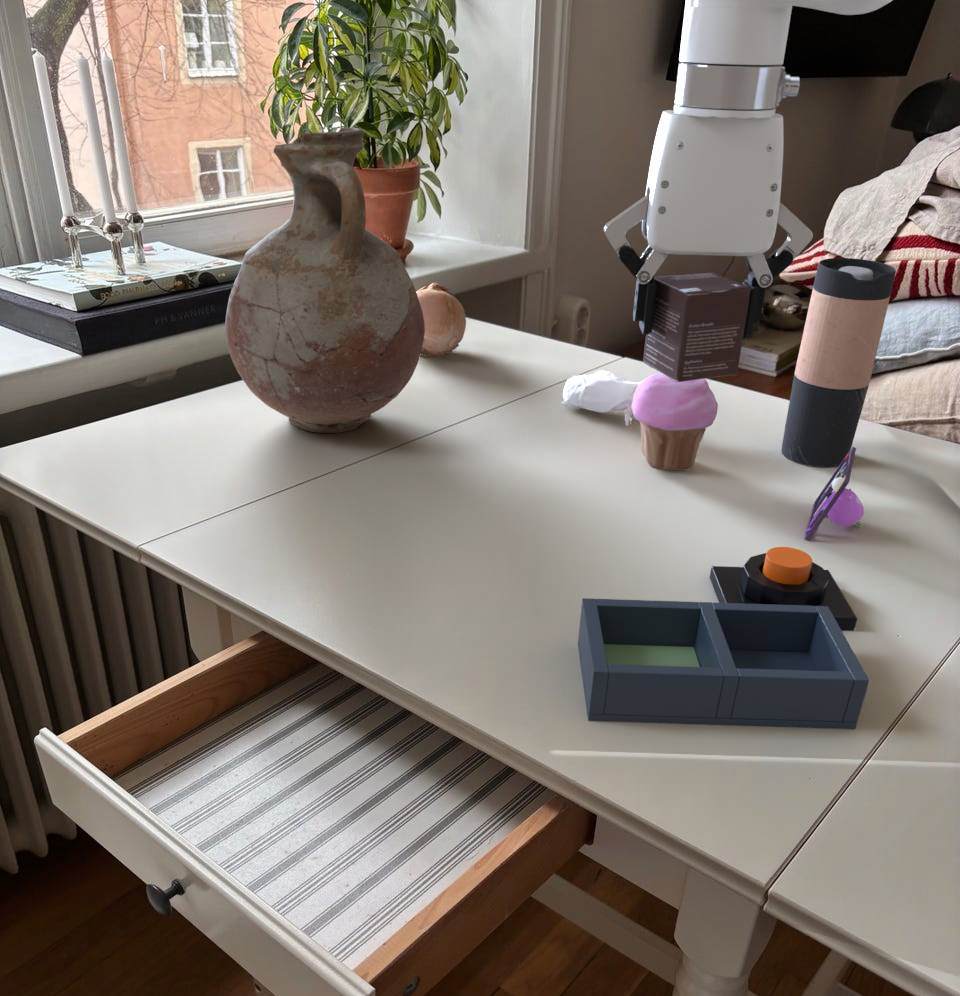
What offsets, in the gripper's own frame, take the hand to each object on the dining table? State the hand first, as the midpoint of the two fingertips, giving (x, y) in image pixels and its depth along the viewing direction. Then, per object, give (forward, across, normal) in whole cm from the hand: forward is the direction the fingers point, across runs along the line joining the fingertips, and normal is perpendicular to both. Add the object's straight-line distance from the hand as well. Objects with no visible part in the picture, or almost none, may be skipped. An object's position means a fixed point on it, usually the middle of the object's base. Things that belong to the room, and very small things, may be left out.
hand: (694, 330), depth 83 cm
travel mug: (+19, -19, -20) cm, 33 cm away
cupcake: (+18, -2, -15) cm, 24 cm away
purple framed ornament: (+19, -16, -2) cm, 25 cm away
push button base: (+18, -7, +14) cm, 24 cm away
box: (+4, 0, 0) cm, 4 cm away
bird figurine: (+18, +4, -30) cm, 36 cm away
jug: (+18, +35, -25) cm, 47 cm away
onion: (+18, +26, -52) cm, 61 cm away
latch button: (+16, -7, +14) cm, 22 cm away
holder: (+18, +1, +26) cm, 32 cm away
